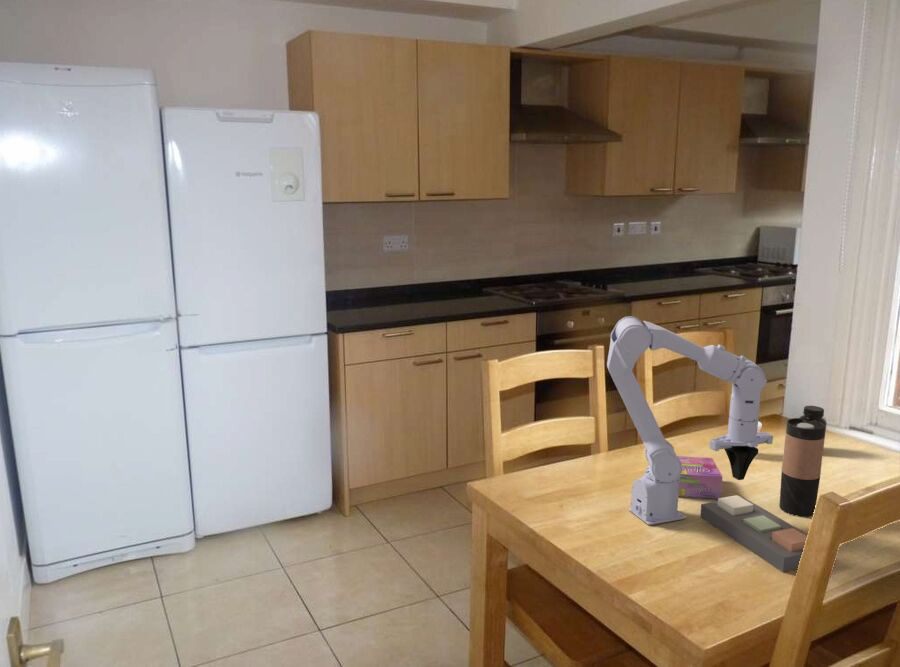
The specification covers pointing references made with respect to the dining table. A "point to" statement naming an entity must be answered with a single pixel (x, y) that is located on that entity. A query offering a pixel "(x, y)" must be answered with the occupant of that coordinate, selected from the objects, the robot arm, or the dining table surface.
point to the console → (753, 534)
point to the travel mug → (801, 466)
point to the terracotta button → (789, 539)
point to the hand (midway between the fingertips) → (738, 478)
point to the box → (699, 478)
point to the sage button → (762, 524)
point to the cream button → (735, 505)
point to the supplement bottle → (814, 415)
